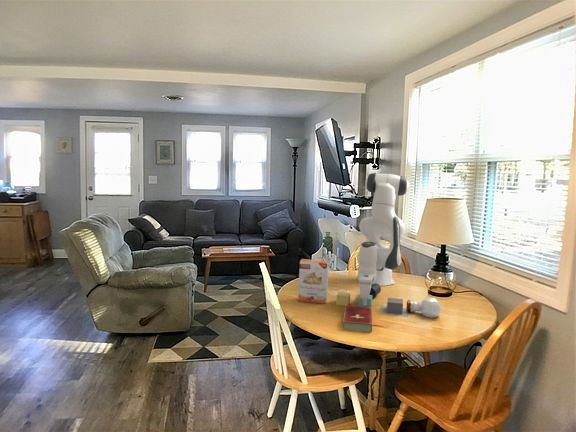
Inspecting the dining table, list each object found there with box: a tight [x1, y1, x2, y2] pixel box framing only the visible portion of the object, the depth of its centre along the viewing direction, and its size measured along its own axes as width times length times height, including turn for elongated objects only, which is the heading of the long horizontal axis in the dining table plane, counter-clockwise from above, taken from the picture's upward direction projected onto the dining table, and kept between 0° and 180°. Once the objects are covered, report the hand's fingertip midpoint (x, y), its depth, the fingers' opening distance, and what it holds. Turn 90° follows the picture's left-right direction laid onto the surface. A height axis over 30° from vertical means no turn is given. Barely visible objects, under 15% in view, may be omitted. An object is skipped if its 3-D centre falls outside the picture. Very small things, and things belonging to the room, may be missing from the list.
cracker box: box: [297, 258, 330, 305], centre depth 205 cm, size 14×6×21 cm, turn 78°
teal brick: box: [358, 295, 373, 308], centre depth 201 cm, size 6×6×5 cm
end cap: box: [369, 283, 382, 300], centre depth 215 cm, size 10×7×7 cm
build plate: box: [380, 305, 409, 318], centre depth 193 cm, size 12×12×1 cm
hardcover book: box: [342, 304, 373, 333], centre depth 181 cm, size 12×21×4 cm, turn 169°
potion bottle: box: [405, 296, 442, 319], centre depth 189 cm, size 9×10×15 cm
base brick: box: [386, 297, 404, 314], centre depth 193 cm, size 7×7×5 cm
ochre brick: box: [335, 291, 351, 307], centre depth 204 cm, size 6×6×5 cm
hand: (365, 302), depth 201 cm, fingers closed on teal brick, 6 cm apart
